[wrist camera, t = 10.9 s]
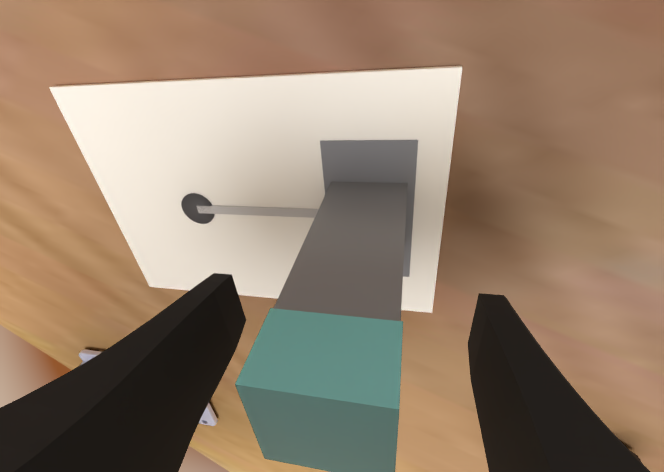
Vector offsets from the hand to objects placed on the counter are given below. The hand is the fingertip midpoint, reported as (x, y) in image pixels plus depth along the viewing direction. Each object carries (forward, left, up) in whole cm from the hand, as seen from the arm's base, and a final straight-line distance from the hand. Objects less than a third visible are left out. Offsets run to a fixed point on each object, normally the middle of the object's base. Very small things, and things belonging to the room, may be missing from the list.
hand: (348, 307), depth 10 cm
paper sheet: (-5, 0, -6) cm, 7 cm away
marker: (0, 0, -5) cm, 5 cm away
